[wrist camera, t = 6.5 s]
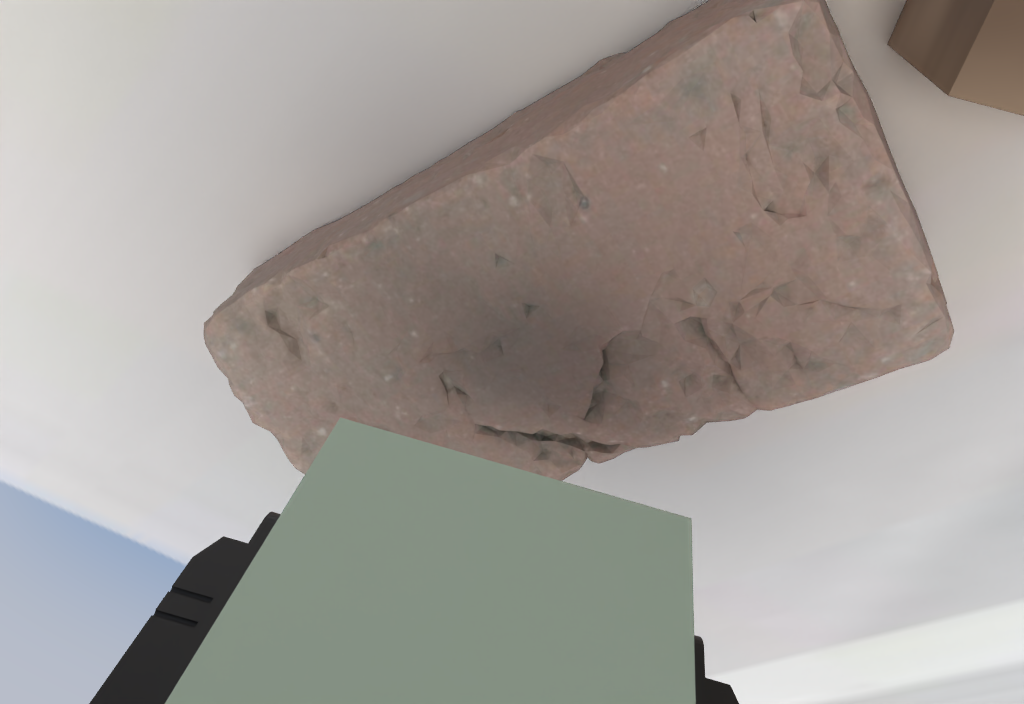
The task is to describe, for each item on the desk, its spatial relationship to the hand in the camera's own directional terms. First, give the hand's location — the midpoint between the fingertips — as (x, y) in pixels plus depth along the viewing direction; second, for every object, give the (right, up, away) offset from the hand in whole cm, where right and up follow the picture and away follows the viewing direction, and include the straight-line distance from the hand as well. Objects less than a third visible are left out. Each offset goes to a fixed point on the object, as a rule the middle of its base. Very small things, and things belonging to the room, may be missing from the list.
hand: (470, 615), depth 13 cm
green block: (0, 0, 0) cm, 0 cm away
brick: (+2, +6, +11) cm, 13 cm away
